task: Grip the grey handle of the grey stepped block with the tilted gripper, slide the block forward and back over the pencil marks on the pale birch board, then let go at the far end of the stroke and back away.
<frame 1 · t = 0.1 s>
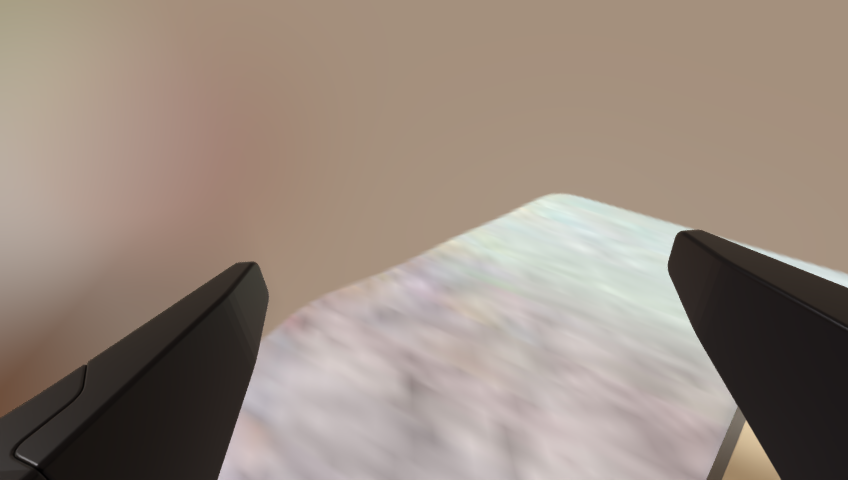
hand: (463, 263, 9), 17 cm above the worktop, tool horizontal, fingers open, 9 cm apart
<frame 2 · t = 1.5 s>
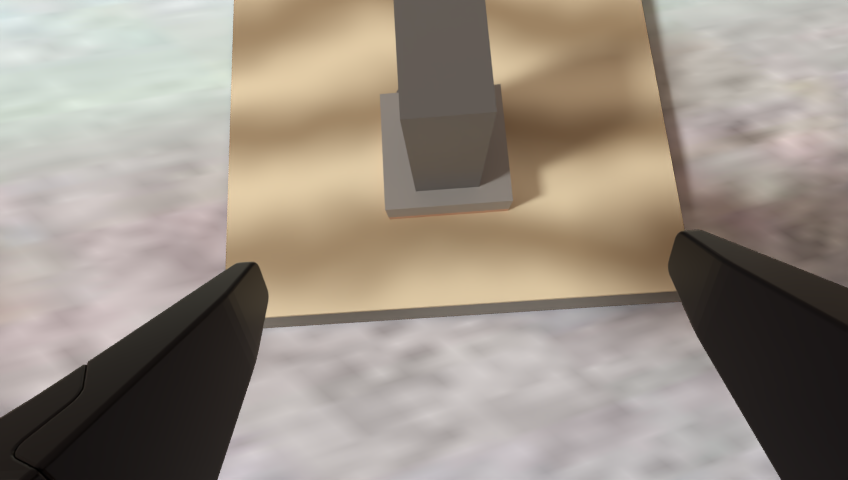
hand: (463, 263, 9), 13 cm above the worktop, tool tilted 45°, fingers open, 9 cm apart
birch board: (441, 136, 24), on the worktop
grey stepped block: (444, 159, 23), point 1 cm above the worktop, touching birch board
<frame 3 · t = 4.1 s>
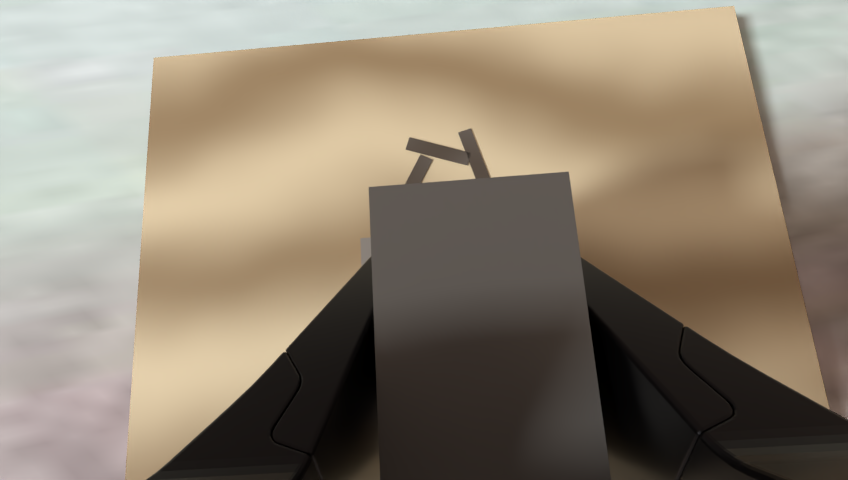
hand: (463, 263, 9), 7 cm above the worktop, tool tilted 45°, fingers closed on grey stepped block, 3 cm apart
birch board: (454, 275, 17), on the worktop
grey stepped block: (460, 327, 15), point 1 cm above the worktop, touching birch board, gripper
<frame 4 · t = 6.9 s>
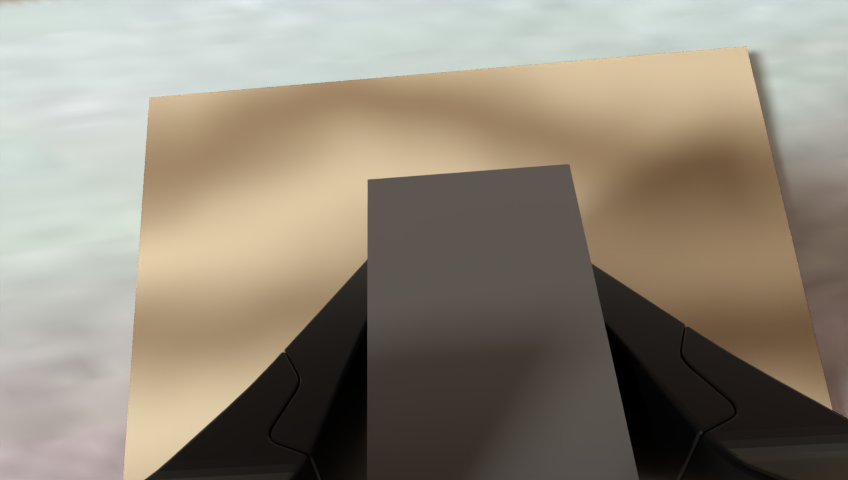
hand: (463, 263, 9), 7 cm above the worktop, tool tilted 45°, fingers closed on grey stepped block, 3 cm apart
birch board: (459, 323, 16), on the worktop
grey stepped block: (465, 384, 14), point 2 cm above the worktop, tilted 12°, touching birch board, gripper
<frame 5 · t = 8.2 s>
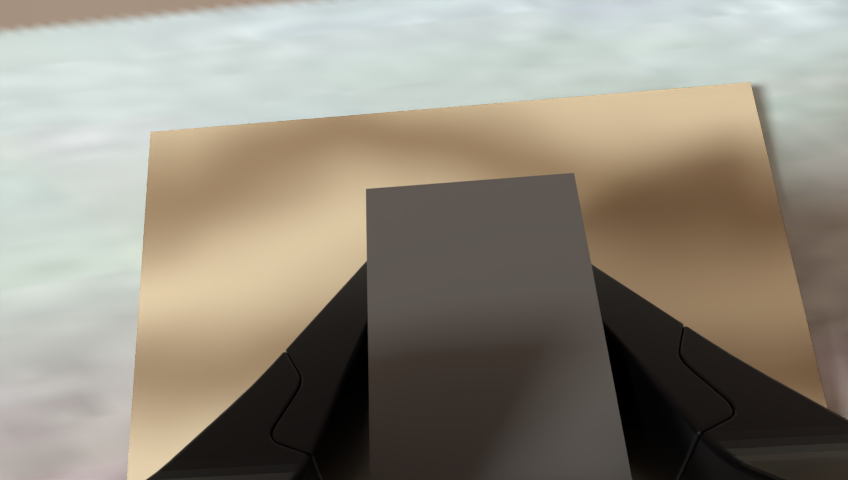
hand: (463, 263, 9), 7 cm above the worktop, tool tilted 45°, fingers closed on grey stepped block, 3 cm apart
birch board: (461, 361, 16), on the worktop
grey stepped block: (463, 367, 14), point 2 cm above the worktop, tilted 7°, touching gripper
when the fingers open (7 cm above the worktop, at t = 9.5 s): grey stepped block stays where it is, resting on birch board.
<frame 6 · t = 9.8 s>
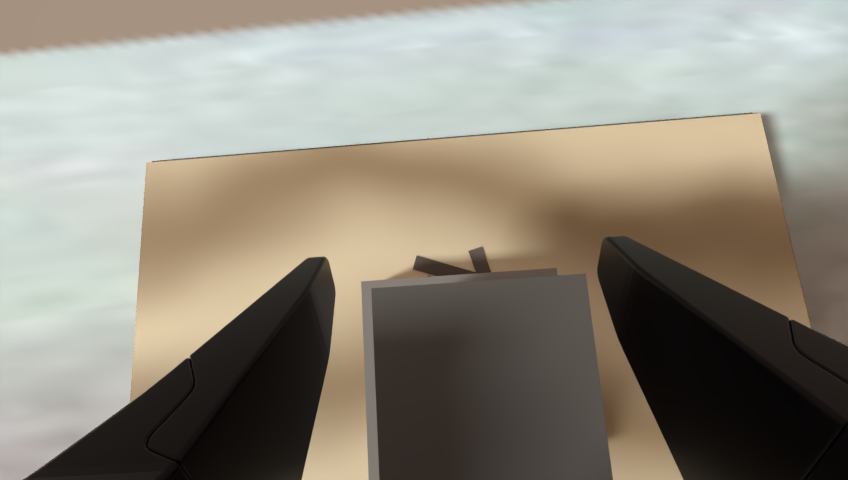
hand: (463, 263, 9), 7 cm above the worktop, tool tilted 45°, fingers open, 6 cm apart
birch board: (464, 399, 16), on the worktop
grey stepped block: (463, 369, 15), point 1 cm above the worktop, touching birch board
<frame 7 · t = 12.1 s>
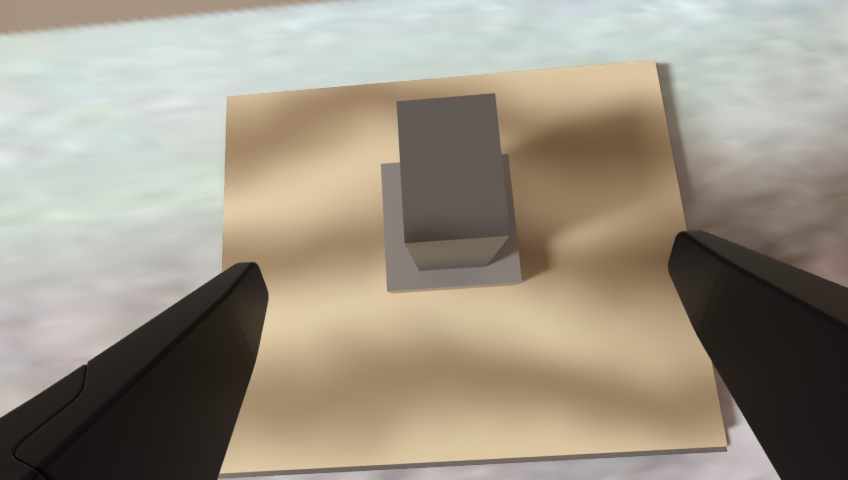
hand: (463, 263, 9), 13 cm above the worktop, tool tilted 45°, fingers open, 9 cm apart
birch board: (450, 257, 23), on the worktop
grey stepped block: (448, 229, 22), point 1 cm above the worktop, touching birch board
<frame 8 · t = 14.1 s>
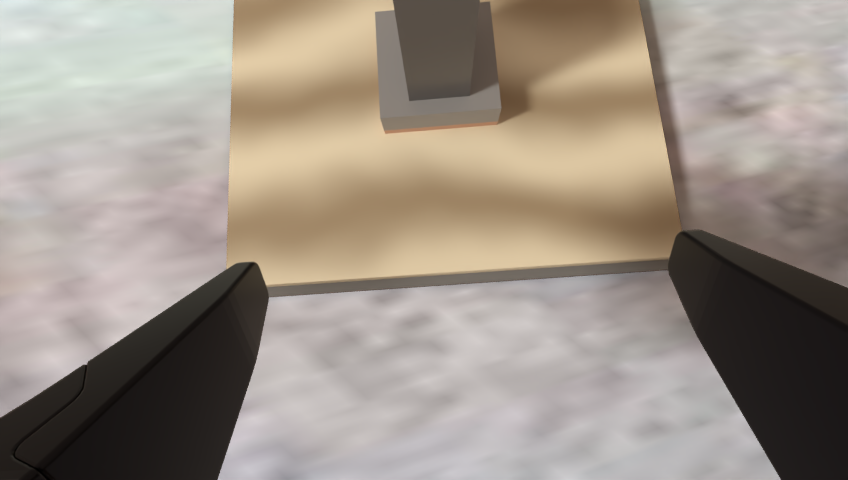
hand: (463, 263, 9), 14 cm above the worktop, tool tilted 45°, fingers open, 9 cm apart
birch board: (438, 110, 25), on the worktop
grey stepped block: (436, 78, 24), point 1 cm above the worktop, touching birch board
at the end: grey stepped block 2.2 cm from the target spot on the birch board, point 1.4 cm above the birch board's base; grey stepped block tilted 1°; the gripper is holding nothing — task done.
